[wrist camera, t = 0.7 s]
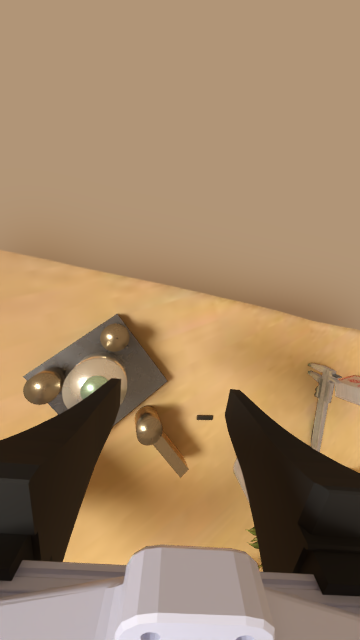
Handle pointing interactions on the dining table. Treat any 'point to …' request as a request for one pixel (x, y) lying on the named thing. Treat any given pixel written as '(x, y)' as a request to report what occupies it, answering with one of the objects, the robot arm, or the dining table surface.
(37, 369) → the levelling base
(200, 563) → the robot arm
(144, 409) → the ball-topped bar
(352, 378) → the paper snack bag
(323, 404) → the caliper
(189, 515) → the dining table surface
